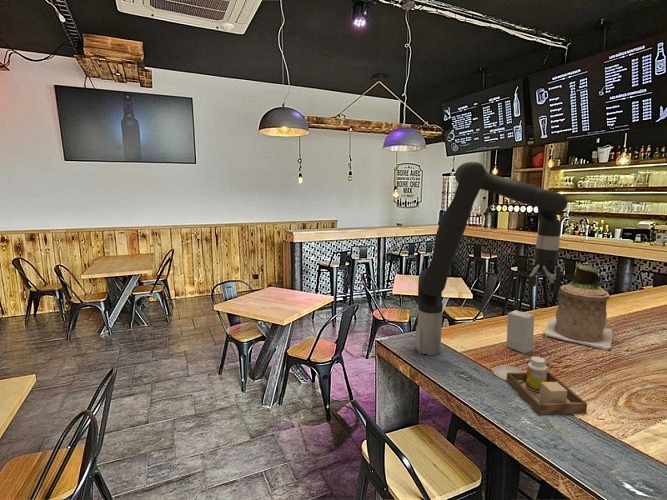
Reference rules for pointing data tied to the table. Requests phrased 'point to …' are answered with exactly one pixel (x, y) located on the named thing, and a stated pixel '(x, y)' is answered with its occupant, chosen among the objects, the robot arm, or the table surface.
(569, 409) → the wooden frame
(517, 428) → the table surface
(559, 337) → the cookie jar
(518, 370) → the coaster
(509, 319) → the skincare box
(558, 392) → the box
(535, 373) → the supplement bottle
